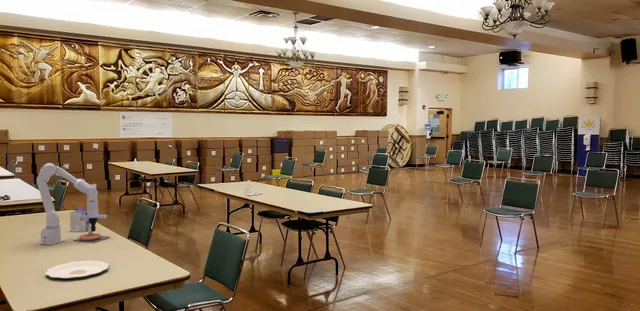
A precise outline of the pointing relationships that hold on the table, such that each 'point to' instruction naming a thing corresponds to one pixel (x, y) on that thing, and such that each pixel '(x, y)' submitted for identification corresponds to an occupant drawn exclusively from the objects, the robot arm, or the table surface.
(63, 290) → the table surface
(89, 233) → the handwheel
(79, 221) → the ink cartridge box
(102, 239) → the bench plate
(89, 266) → the plate
